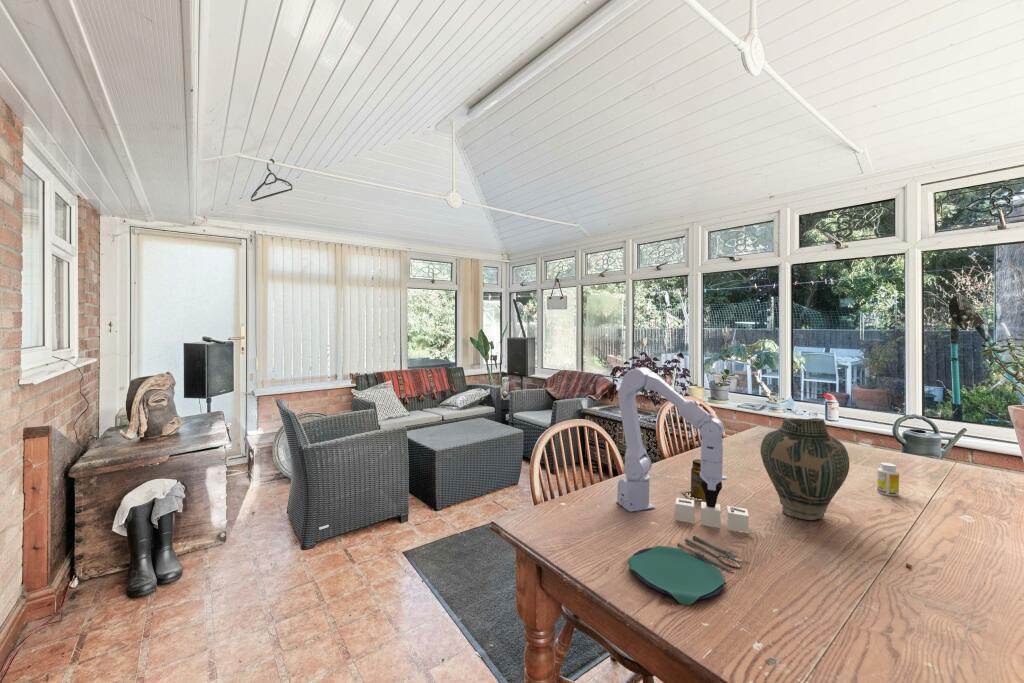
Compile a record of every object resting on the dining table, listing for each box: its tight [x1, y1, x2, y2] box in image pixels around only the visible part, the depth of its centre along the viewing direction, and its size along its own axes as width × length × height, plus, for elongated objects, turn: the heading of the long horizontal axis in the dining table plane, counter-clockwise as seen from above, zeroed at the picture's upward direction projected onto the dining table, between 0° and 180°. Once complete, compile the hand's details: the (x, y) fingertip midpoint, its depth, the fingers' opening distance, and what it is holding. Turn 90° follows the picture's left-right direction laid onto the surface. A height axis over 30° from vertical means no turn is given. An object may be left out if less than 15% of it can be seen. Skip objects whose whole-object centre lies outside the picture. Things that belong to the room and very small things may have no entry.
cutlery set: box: [627, 535, 743, 606], centre depth 97 cm, size 20×30×2 cm, turn 123°
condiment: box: [680, 458, 706, 502], centre depth 140 cm, size 7×8×12 cm
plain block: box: [700, 501, 722, 529], centre depth 121 cm, size 5×5×5 cm
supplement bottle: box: [876, 462, 900, 497], centre depth 143 cm, size 6×6×10 cm
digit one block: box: [674, 497, 695, 524], centre depth 124 cm, size 5×5×5 cm
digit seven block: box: [726, 505, 750, 533], centre depth 118 cm, size 5×5×5 cm
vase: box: [760, 417, 850, 521], centre depth 126 cm, size 22×22×30 cm
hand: (710, 506), depth 120 cm, fingers closed, pressing on plain block
